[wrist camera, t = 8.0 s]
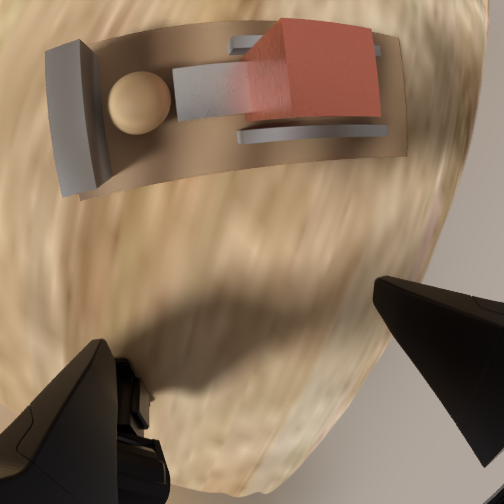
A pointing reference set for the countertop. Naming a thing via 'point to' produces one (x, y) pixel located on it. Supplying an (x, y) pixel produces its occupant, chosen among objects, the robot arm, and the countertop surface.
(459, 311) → the robot arm
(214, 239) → the countertop surface
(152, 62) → the nutcracker base
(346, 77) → the block
